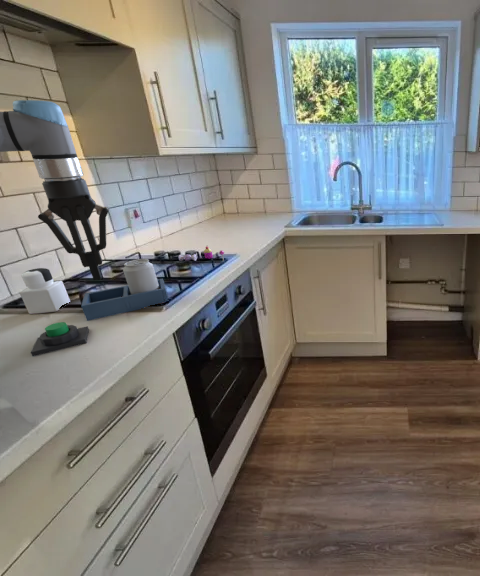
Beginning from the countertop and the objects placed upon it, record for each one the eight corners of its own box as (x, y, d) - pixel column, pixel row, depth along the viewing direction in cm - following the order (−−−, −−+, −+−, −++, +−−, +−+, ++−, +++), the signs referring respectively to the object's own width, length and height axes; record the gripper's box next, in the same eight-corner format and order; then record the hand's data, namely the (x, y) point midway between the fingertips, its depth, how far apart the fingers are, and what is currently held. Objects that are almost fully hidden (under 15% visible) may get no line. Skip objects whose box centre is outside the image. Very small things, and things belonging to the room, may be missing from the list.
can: (141, 306, 105) (129, 267, 101) (128, 300, 109) (116, 263, 104) (166, 296, 111) (156, 259, 107) (153, 292, 115) (143, 256, 110)
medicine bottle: (45, 304, 110) (29, 267, 106) (71, 301, 111) (56, 265, 107) (28, 314, 104) (10, 275, 99) (56, 312, 105) (40, 273, 100)
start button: (46, 339, 85) (43, 331, 84) (49, 332, 88) (46, 325, 88) (68, 334, 87) (65, 326, 86) (70, 327, 90) (67, 320, 90)
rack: (87, 321, 99) (81, 306, 97) (90, 307, 107) (84, 293, 105) (169, 302, 109) (165, 288, 107) (166, 291, 117) (162, 278, 115)
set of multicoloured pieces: (177, 264, 142) (173, 249, 139) (185, 258, 149) (181, 244, 146) (225, 261, 144) (222, 246, 141) (230, 255, 151) (227, 241, 149)
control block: (32, 356, 83) (27, 345, 82) (39, 341, 89) (34, 331, 88) (86, 343, 88) (82, 332, 87) (89, 330, 94) (85, 319, 93)
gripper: (100, 175, 86) (129, 268, 95) (27, 179, 80) (66, 279, 89) (98, 178, 80) (129, 276, 89) (19, 182, 74) (61, 288, 83)
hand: (97, 277), depth 89 cm, fingers closed
